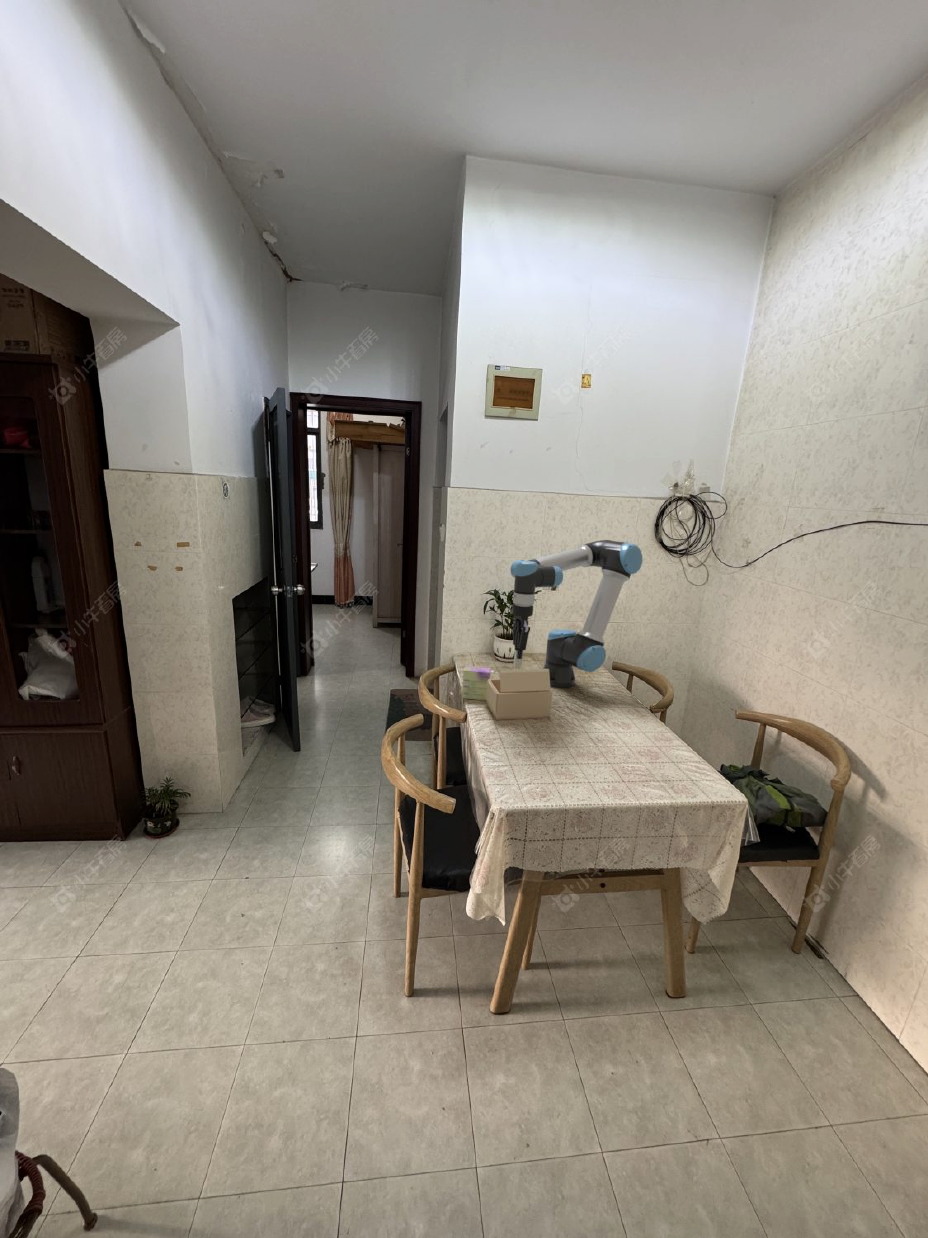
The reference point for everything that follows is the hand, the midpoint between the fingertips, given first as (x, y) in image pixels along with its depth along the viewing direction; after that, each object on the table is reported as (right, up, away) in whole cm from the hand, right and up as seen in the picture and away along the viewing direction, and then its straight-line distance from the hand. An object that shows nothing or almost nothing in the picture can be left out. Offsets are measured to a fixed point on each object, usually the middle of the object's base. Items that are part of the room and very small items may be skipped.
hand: (517, 665), depth 186 cm
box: (-15, -14, +12) cm, 24 cm away
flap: (+2, -4, -7) cm, 9 cm away
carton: (0, -17, +2) cm, 17 cm away
